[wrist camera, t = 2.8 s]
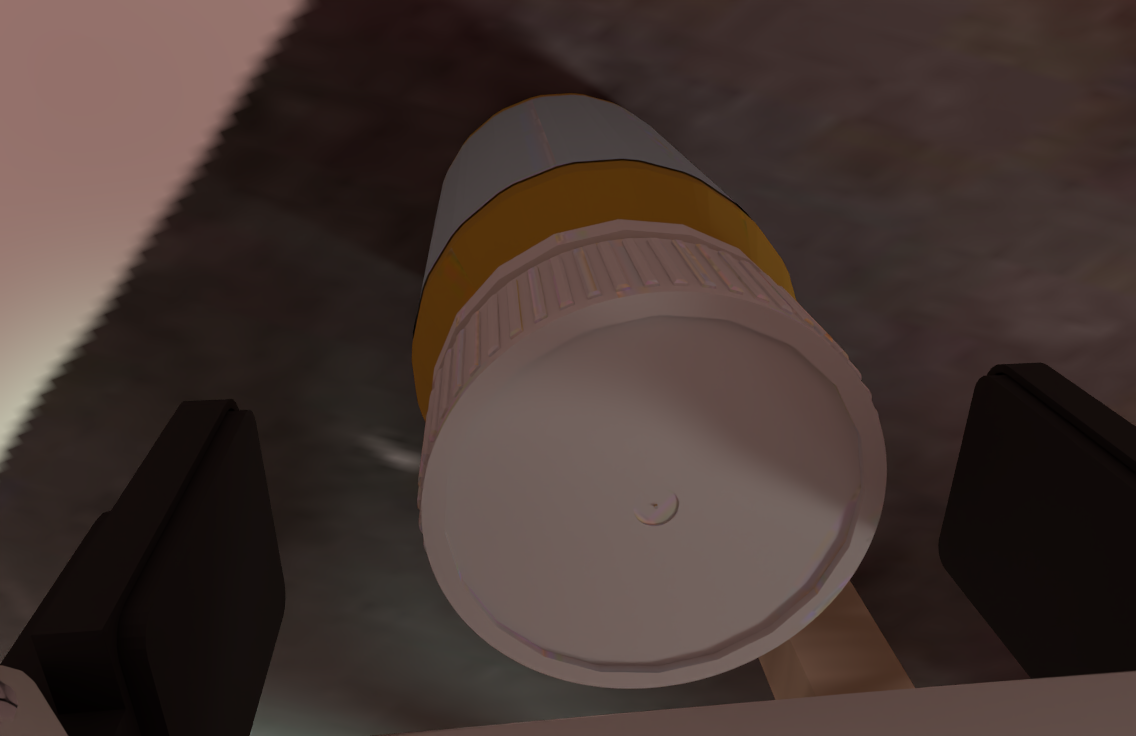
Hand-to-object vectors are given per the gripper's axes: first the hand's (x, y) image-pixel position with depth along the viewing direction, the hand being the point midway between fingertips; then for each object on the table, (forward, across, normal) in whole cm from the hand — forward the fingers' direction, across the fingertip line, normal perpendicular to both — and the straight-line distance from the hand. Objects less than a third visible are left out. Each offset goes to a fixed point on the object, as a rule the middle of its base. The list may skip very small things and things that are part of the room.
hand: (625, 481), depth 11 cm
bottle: (+15, -1, +1) cm, 15 cm away
